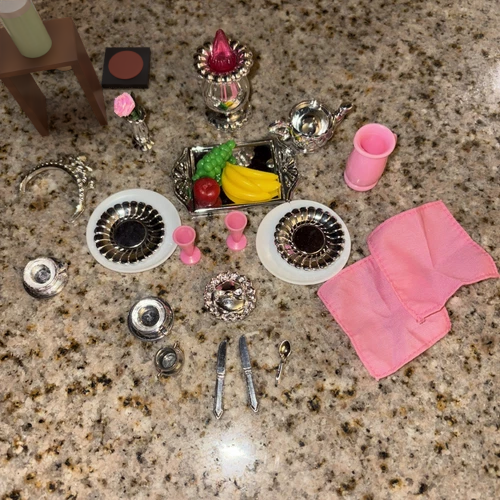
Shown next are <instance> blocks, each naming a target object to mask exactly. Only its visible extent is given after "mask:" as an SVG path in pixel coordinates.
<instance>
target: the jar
mask: <svg viewBox="0 0 500 500" xmlns="http://www.w3.org/2000/svg"><path fill="white" fill-rule="evenodd" d="M42 21H43V20H42V18H41V16H40V14H39V12H38V10H37V8H36V6H35V4H34V2H33V0H0V23H1V24H2V26H3V28H5V29H6V31H7V33H8V34H9V36H10V37H11V39H12V41H13V42H14V44H15V46H16V47H17V49H18V50H19V52H20V53H21V54H22V55H23V56H25V57H28V58H37V57H40V56H42V55H44V54H46V53H47V52H48V51H49V50H50V48H51V45H52V40H51V37H50V35H49V33H48V32H47V30H46V28H45V26H44V24H43V22H42Z"/></svg>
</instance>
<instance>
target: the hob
mask: <svg viewBox="0 0 500 500" xmlns="http://www.w3.org/2000/svg"><path fill="white" fill-rule="evenodd" d="M151 60H152V50H151V47H150V46H112V47H111V46H105V48H104V58H103V66H102V75H101V81H100V84H101V86H102V89H149V86H150V75H151V74H150V73H151Z"/></svg>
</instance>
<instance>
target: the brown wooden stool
mask: <svg viewBox="0 0 500 500" xmlns="http://www.w3.org/2000/svg"><path fill="white" fill-rule="evenodd" d="M42 22H43V24H44V26H45V28H46V30H47V32H48V33H49V35H50V37H51V40H52V45H51V48H50V50H49V51H48V52H47V53H46V54H44V55H42V56H40V57H37V58H28V57H25V56H23V55H22V54H21V53H20V52H19V50H18V49H17V47H16V46H15V44H14V42H13V41H12V39H11V37H10V36H9V34H8V33H7V31H6V29H5V28H4V27H0V81H1V83H2V84H3V86H5V88H6V90H7V91H8V92H9V94H10V95H11V96H12V97H13V99H14V100H15V102H16V103H17V104H18V106H19V107H20V109H21V110H22V111H23V113H24V114H25V116H26V117H27V119H28V120H29V121H30V123H31V124H32V125H33V127H34V129H35V130H36V131H37V133H38V134H39V136H40V137H41V138H45V137H46V138H47V137H50V127H49V119H48V118H49V117H48V109H47V99H46V95H45V94H44V92H43V90H41V88H40V87H39V85H38V83H37V82H36V80H35V78H34V76H33V75H32V73H39V72H43V71H50V70H55V69H56V68H61V67H67V66H71V68H72V69H71V70H72V71H73V74H74V76H75V79H76V80H77V81H78V84H79V86H80V88H81V90H82V92H83V94H84V96H85V98H86V100H87V102H88V104H89V106H90V108H91V110H92V112H93V114H94V116H95V118H96V120H97V122H98V125H99V126H100V127H103V126H108V124H109V123H108V117H107V111H106V110H107V109H106V105H105V104H106V103H105V98H104V91H103V87H102V85H101V81H100V78H99V77H98V74H97V73H96V69H95V68H94V65H93V63H92V61H91V58H90V56H89V54H88V51H87V49H86V47H85V45H84V42H83V39H82V38H81V35H80V33H79V30H78V28H77V25H76V23H75V21H74V19H73V17H72V16H65V17H59V18H54V19H48V20H47V19H46V20H42ZM56 70H57V69H56Z"/></svg>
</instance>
